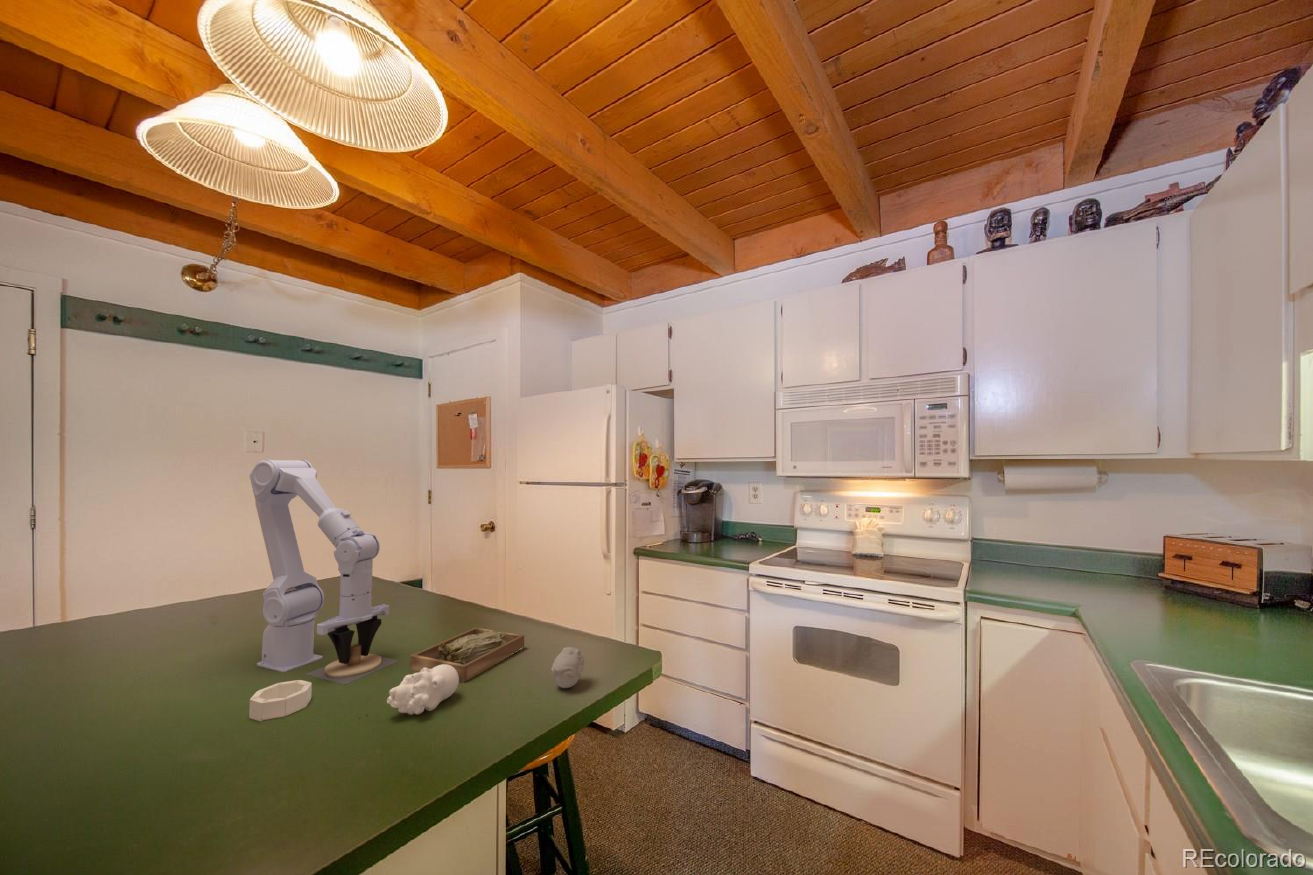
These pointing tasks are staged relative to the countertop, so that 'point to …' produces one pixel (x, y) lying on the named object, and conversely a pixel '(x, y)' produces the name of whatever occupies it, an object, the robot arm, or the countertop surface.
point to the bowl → (280, 700)
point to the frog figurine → (567, 667)
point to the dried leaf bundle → (470, 647)
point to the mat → (321, 674)
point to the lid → (353, 664)
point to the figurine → (424, 689)
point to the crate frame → (474, 667)
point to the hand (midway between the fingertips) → (353, 658)
